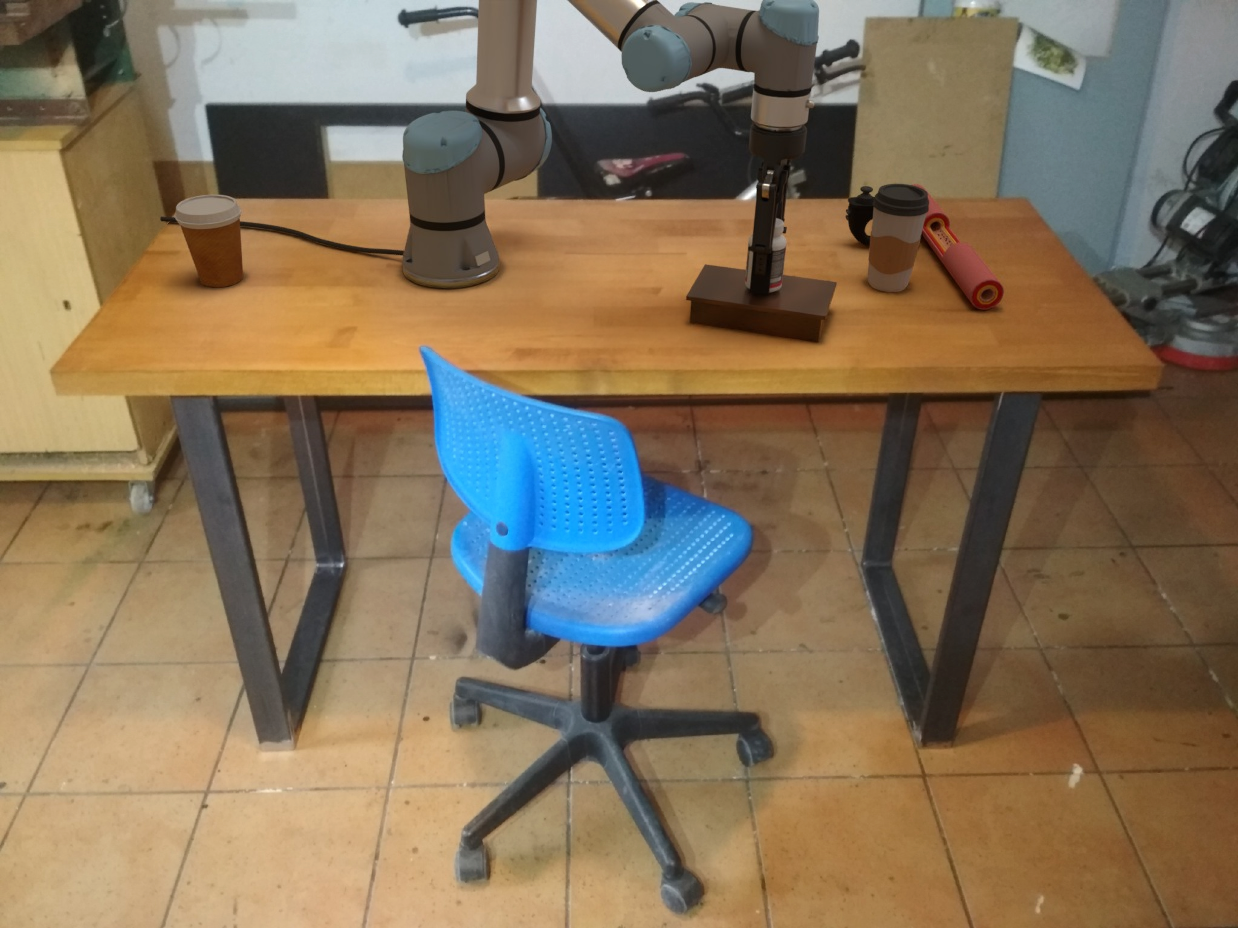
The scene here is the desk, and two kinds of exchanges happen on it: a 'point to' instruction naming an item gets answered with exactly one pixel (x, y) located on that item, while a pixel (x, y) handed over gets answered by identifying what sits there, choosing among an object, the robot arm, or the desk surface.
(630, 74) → the robot arm
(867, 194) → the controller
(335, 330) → the desk surface
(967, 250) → the blood vessel
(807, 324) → the stand
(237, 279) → the disposable coffee cup
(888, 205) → the coffee cup
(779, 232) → the pill bottle
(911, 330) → the desk surface
